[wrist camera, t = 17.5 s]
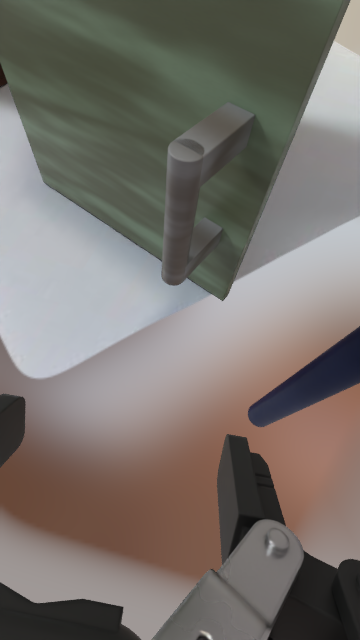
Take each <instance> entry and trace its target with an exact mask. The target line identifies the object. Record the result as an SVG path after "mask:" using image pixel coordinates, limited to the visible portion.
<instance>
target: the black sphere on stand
mask: <svg viewBox="0 0 360 640" xmlns="http://www.w3.org/2000/svg"><path fill="white" fill-rule="evenodd" d="M7 83H8V82H7V80H6V77H5V74H4V71H3V69H2V66H1V63H0V87H1V86H3V85H5V84H7Z"/></svg>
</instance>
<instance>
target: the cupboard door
mask: <svg viewBox="0 0 360 640" xmlns="http://www.w3.org/2000/svg"><path fill="white" fill-rule="evenodd" d="M349 3H350V0H0V63H1V66H2V69H3V71H4V74H5V77H6V80H7V82H8V85H9V88H10V91H11V93H12V96H13V99H14V102H15V104H16V107H17V110H18V113H19V115H20V118H21V121H22V124H23V126H24V129H25V132H26V135H27V137H28V140H29V143H30V146H31V148H32V151H33V154H34V157H35V159H36V162H37V165H38V168H39V170H40V173H41V176H42V179H43V181H44V183H46V184H47V185H49V186H50V187H52V188H53V189H55V190H56V191H58V192H59V193H61V194H62V195H64V196H65V197H67V198H68V199H70V200H71V201H73V202H74V203H76V204H77V205H79V206H80V207H82V208H83V209H85V210H86V211H88V212H89V213H91V214H92V215H94V216H95V217H97V218H98V219H100V220H101V221H103V222H104V223H106V224H107V225H109V226H110V227H112V228H113V229H115V230H116V231H118V232H120V233H121V234H123V235H124V236H126V237H127V238H129V239H130V240H132V241H133V242H135V243H136V244H138V245H139V246H141V247H142V248H144V249H145V250H147V251H148V252H150V253H151V254H153V255H154V256H156V257H157V258H159V259H160V260H162V279H163V280H164V282H165V283H167V284H169V285H179V284H181V283H182V282H183V281H184V280H185V279H186V278H189V279H190V280H192V281H193V282H195V283H196V284H198V285H199V286H201V287H202V288H204V289H205V290H207V291H208V292H210V293H211V294H213V295H214V296H216V297H217V298H219V299H220V300H222V301H223V300H224V299H225V298H226V297H227V295H228V293H229V291H230V289H231V286H232V284H233V281H234V279H235V277H236V274H237V272H238V269H239V267H240V265H241V262H242V260H243V257H244V255H245V253H246V250H247V248H248V245H249V243H250V241H251V238H252V236H253V233H254V231H255V229H256V226H257V224H258V221H259V219H260V217H261V214H262V212H263V209H264V207H265V205H266V202H267V200H268V197H269V195H270V193H271V190H272V188H273V185H274V183H275V180H276V178H277V176H278V173H279V171H280V168H281V166H282V164H283V161H284V159H285V156H286V154H287V152H288V149H289V147H290V144H291V142H292V140H293V137H294V135H295V132H296V130H297V128H298V125H299V123H300V120H301V118H302V116H303V113H304V111H305V108H306V106H307V104H308V101H309V99H310V96H311V94H312V92H313V89H314V87H315V84H316V82H317V80H318V77H319V75H320V72H321V70H322V68H323V65H324V63H325V60H326V58H327V56H328V53H329V51H330V48H331V46H332V44H333V41H334V39H335V36H336V34H337V31H338V29H339V27H340V24H341V22H342V19H343V17H344V15H345V12H346V10H347V7H348V5H349Z"/></svg>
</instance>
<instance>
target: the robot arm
mask: <svg viewBox="0 0 360 640" xmlns="http://www.w3.org/2000/svg"><path fill="white" fill-rule="evenodd" d="M24 432H25V399H24V398H23V397H20V396H14V395H9V394H2V395H0V467H1V466H2V465H3V464H4V463H5V462H6V461H7V460H8V458H9V457H10V456H11V455H12V454H13V453H14V452H15V451H16V449H17V448H18V447H19V446H20V444H21V442H22V440H23V436H24ZM217 488H218V506H219V520H220V538H221V554H222V566H221V568H220V569H219V570H218V571H217V572H215V571H214V570H213V569H211V570H209V571H208V572H207V573H206V574H205V575H204V576H203V577H202V578H201V579H200V581H199V582H198V583H197V584H196V586H195V587H194V588H193V589H192V591H191V592H190V593H189V594H188V596H187V597H186V598H185V599H184V600H183V602H182V603H181V604H180V605H179V607H178V608H177V609H176V610H175V611H174V613H173V614H172V615H171V616H170V618H169V619H168V620H167V621H166V623H165V624H164V625H163V626H162V628H161V629H160V630H159V631H158V632H157V634H156V635H155V636H154V637H153V639H152V640H360V561H358V560H354V559H348V560H344V561H342V562H341V563H340V565H339V567H338V569H337V568H335V567H332V566H330V565H328V564H326V563H324V562H322V561H320V560H318V559H316V558H314V557H313V556H311V555H309V554H308V553H306V552H305V551H304V550H303V548H302V545H301V543H300V541H299V540H298V538H297V537H296V536H295V535H294V533H293V532H292V531H291V530H290V529H288V528H287V527H286V525H285V521H284V518H283V515H282V511H281V508H280V505H279V502H278V498H277V495H276V491H275V489H274V484H273V481H272V479H271V474H270V471H269V468H268V465H267V463H266V462H265V461H264V459H263V458H262V457H261V456H260V455H259V454H257V453H251V452H250V450H249V446H248V441H247V438H246V437H240V436H235V435H229V434H227V435H226V438H225V442H224V447H223V451H222V455H221V460H220V464H219V469H218V478H217ZM122 614H123V607H121V606H116V605H111V604H106V603H101V602H96V601H91V600H86V599H77V600H67V601H58V602H48V603H33V602H31V601H30V600H28V599H26V598H25V597H23V596H22V595H20V594H18V593H17V592H15V591H13V590H12V589H10V588H9V587H7V586H5V585H4V584H2V583H0V640H141V639H140V638H139V637H138V636H137V635H136V634H135V633H134V632H133V631H131V630H130V629H129V628H127V627H126V626H124V625H122V624H121V620H122Z"/></svg>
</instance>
